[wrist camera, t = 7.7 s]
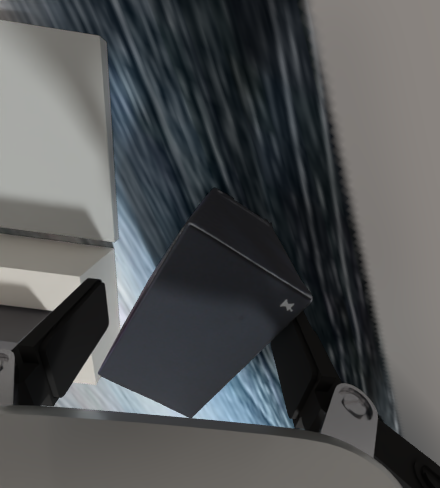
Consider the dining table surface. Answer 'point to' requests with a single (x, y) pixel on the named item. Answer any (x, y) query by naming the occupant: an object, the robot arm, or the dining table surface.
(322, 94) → the dining table surface
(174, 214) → the dining table surface
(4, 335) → the button
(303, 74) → the dining table surface
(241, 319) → the small box
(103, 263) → the switch panel
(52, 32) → the lockout pad
